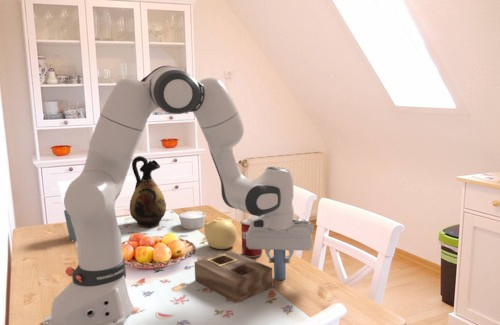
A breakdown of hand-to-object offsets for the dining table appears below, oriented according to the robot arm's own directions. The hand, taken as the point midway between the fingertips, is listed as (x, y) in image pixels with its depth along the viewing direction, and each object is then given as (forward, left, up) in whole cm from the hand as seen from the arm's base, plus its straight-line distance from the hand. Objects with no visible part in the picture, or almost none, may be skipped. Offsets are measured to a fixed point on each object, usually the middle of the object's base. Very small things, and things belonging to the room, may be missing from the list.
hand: (279, 262), depth 140 cm
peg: (0, 0, -5) cm, 5 cm away
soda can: (+7, +21, -5) cm, 23 cm away
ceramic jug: (-3, +79, -5) cm, 79 cm away
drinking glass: (-31, +83, -5) cm, 89 cm away
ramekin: (+10, +63, -6) cm, 64 cm away
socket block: (-13, +7, -5) cm, 16 cm away
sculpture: (+4, +35, -5) cm, 36 cm away
